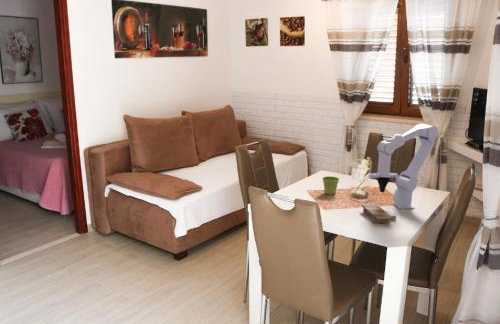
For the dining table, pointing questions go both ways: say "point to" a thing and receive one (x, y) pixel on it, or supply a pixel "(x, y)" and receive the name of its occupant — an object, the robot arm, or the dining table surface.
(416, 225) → the dining table surface
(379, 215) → the walnut shelf
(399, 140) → the robot arm
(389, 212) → the grey shell
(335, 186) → the plant pot
